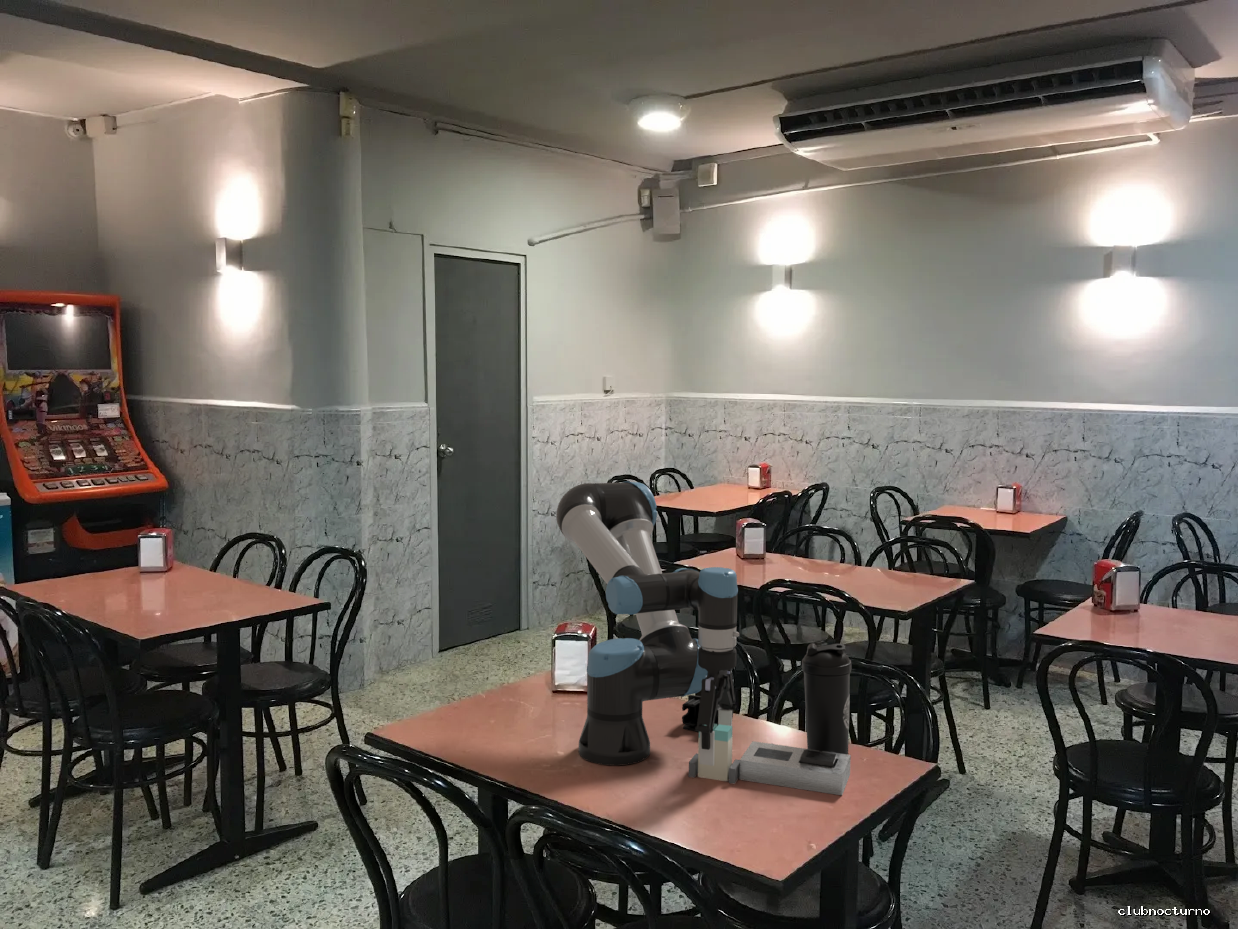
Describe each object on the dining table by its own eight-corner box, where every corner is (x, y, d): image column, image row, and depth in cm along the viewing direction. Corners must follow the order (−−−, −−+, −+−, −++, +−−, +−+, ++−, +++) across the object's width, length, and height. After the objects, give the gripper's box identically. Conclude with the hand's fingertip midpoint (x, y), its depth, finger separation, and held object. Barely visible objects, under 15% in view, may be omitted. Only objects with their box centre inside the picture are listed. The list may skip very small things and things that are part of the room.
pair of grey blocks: (688, 776, 196) (688, 762, 195) (695, 767, 200) (695, 753, 200) (734, 784, 192) (735, 769, 192) (740, 774, 197) (741, 760, 197)
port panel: (739, 779, 194) (739, 755, 194) (752, 760, 205) (752, 736, 204) (842, 795, 187) (842, 770, 187) (850, 774, 198) (850, 750, 197)
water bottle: (853, 762, 203) (852, 652, 201) (803, 760, 205) (801, 651, 203) (851, 744, 213) (850, 639, 211) (803, 742, 215) (801, 639, 213)
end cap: (733, 727, 224) (733, 698, 224) (720, 737, 218) (721, 707, 218) (693, 719, 229) (693, 691, 229) (680, 729, 223) (680, 699, 222)
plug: (697, 777, 196) (698, 727, 195) (702, 770, 199) (703, 722, 198) (727, 781, 194) (728, 732, 193) (731, 775, 197) (732, 726, 196)
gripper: (719, 664, 181) (718, 777, 183) (750, 634, 204) (749, 734, 206) (680, 660, 184) (679, 772, 185) (715, 631, 207) (714, 730, 208)
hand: (716, 752), depth 196 cm, fingers open, 13 cm apart
